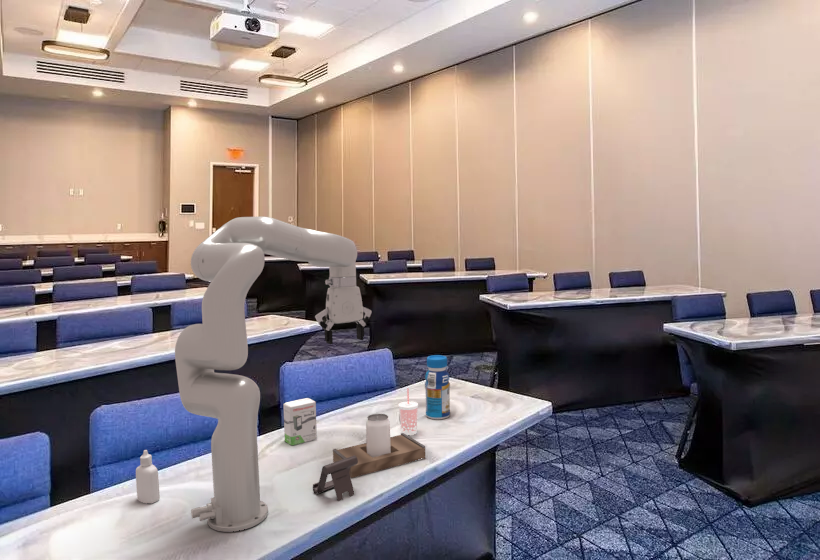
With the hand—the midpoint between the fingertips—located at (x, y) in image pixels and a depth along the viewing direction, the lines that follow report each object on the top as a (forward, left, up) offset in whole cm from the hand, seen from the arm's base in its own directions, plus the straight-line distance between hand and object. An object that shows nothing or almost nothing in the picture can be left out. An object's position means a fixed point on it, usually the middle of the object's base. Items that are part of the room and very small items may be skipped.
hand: (345, 341), depth 159 cm
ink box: (-11, +10, -31) cm, 34 cm away
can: (+2, -16, -31) cm, 34 cm away
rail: (+2, -16, -30) cm, 34 cm away
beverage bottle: (+35, +5, -31) cm, 47 cm away
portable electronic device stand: (-15, -27, -31) cm, 43 cm away
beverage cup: (+19, -3, -31) cm, 36 cm away
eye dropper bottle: (-54, -6, -31) cm, 62 cm away
